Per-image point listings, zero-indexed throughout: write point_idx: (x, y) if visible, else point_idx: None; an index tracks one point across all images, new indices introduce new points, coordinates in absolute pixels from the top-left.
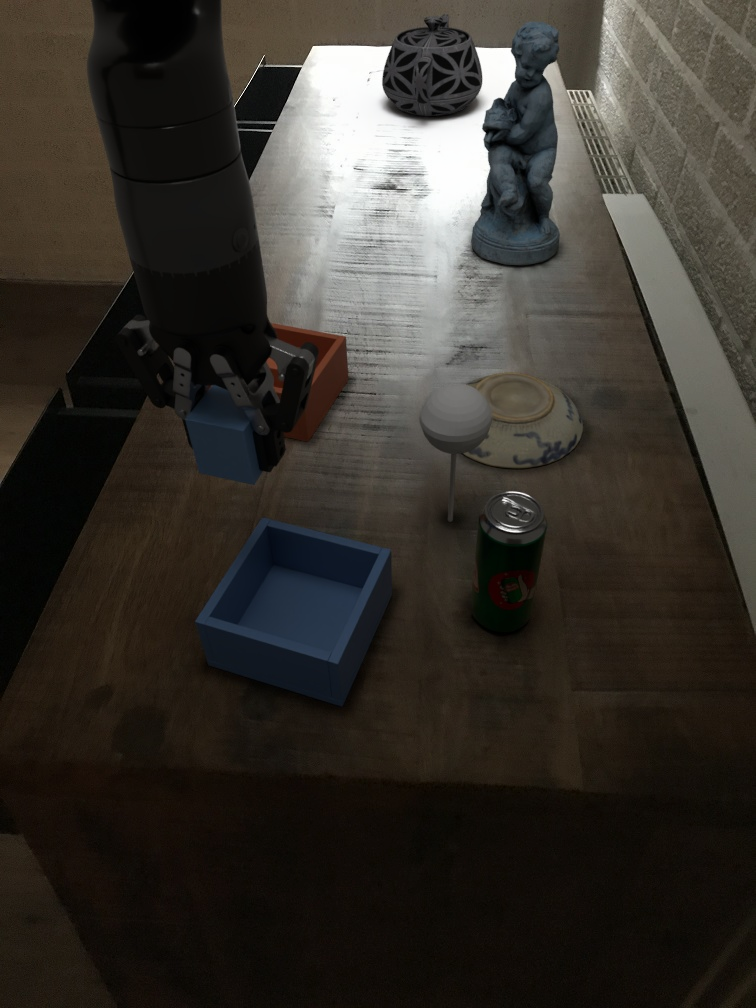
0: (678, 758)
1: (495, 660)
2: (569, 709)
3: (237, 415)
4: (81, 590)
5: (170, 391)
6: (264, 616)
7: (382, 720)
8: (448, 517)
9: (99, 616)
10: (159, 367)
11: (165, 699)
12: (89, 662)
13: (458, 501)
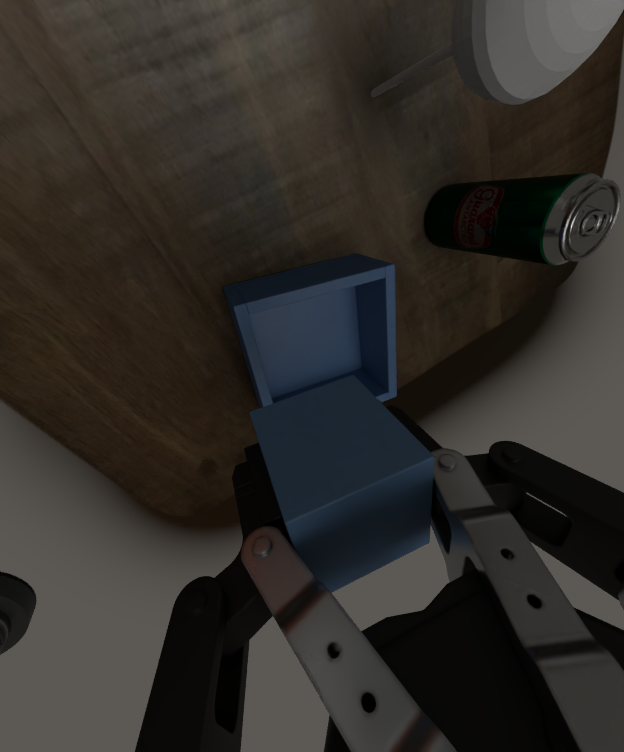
0: (549, 274)
1: (449, 269)
2: (496, 279)
3: (402, 534)
4: (77, 431)
5: (248, 636)
6: (273, 351)
7: None
8: (375, 95)
9: (129, 435)
10: (225, 733)
11: (252, 439)
12: (171, 460)
13: (371, 39)
